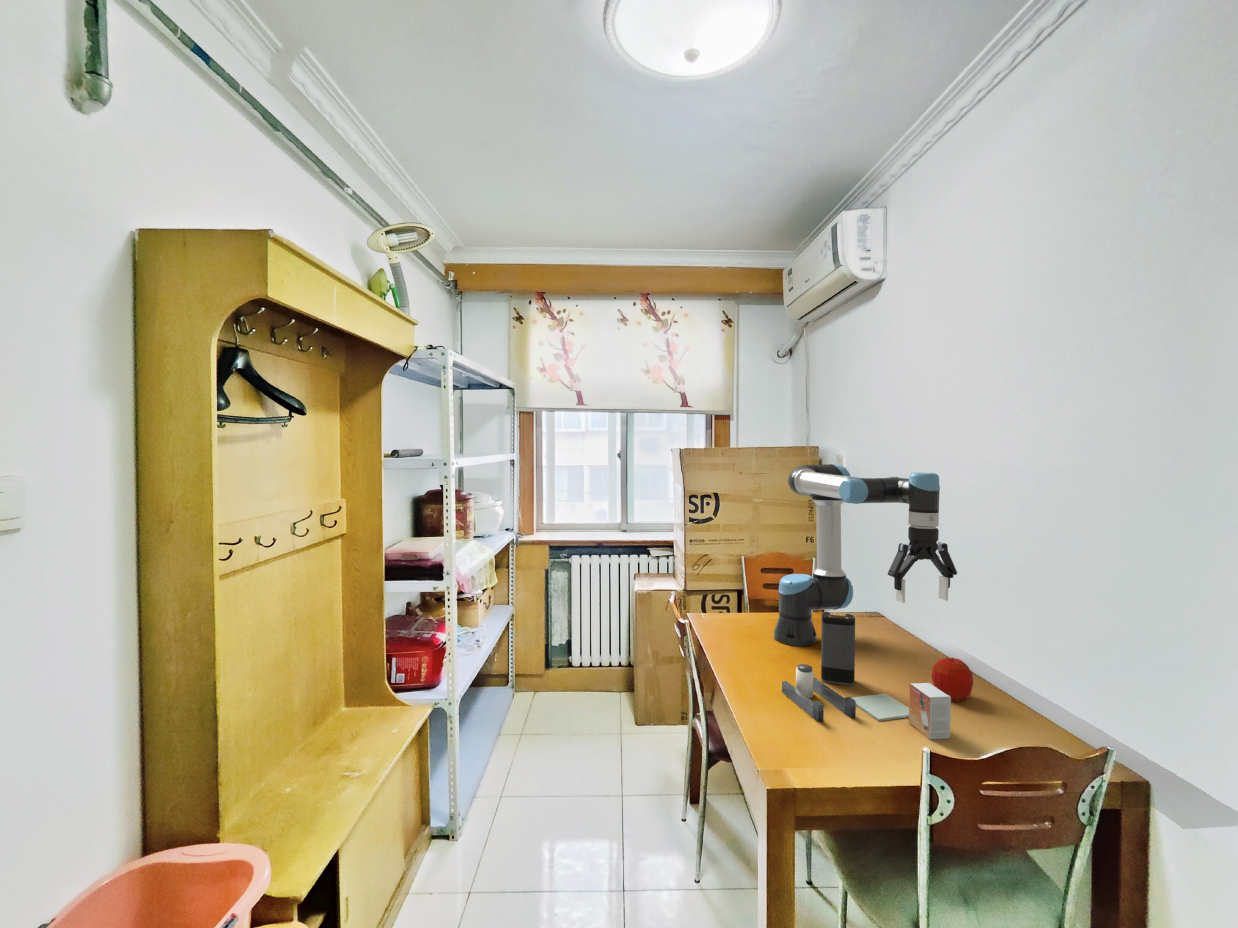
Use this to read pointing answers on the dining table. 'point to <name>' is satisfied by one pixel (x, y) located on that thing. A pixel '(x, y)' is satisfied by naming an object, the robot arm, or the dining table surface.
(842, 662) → the electronic device
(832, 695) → the channel
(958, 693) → the apple
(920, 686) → the small box
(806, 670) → the white cylindrical piece
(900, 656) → the dining table surface
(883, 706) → the pad
